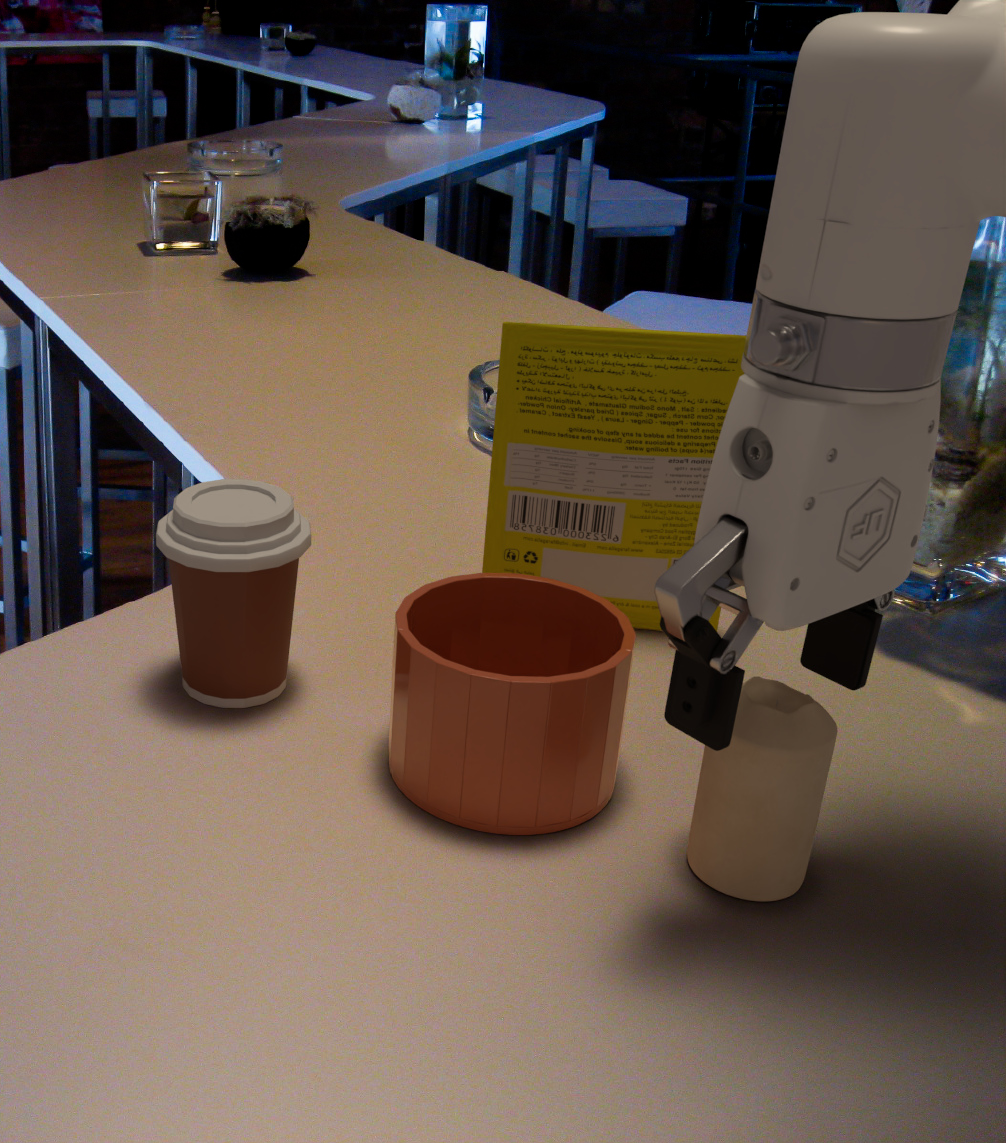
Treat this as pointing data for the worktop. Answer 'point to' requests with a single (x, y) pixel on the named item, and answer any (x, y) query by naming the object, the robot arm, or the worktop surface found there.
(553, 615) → the pot cup
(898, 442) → the robot arm
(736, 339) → the food package
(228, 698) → the coffee cup
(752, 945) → the worktop surface
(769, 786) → the candle
